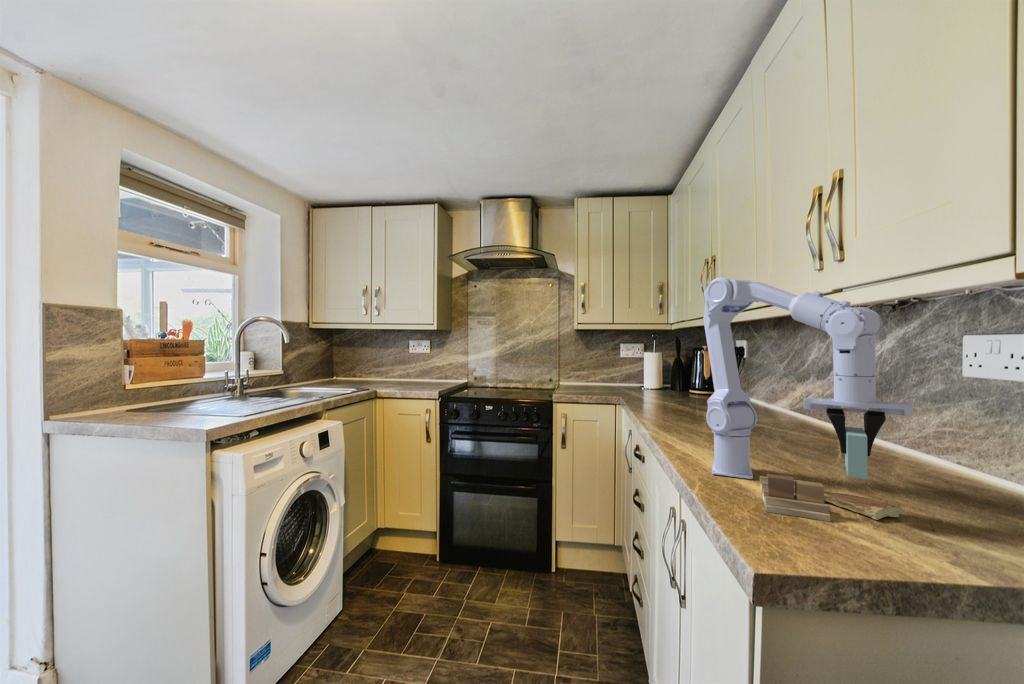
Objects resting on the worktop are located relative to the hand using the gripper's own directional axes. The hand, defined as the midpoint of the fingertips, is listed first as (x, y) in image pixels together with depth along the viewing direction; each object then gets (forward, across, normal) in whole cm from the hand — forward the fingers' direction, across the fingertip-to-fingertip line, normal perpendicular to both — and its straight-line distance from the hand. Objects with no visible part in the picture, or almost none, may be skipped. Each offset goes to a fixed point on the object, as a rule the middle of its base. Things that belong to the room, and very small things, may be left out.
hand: (855, 453), depth 72 cm
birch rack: (+10, +9, +1) cm, 14 cm away
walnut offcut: (+9, +11, +6) cm, 15 cm away
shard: (+10, 0, 0) cm, 10 cm away
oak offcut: (+9, +7, +6) cm, 12 cm away
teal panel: (+3, 0, +1) cm, 3 cm away
